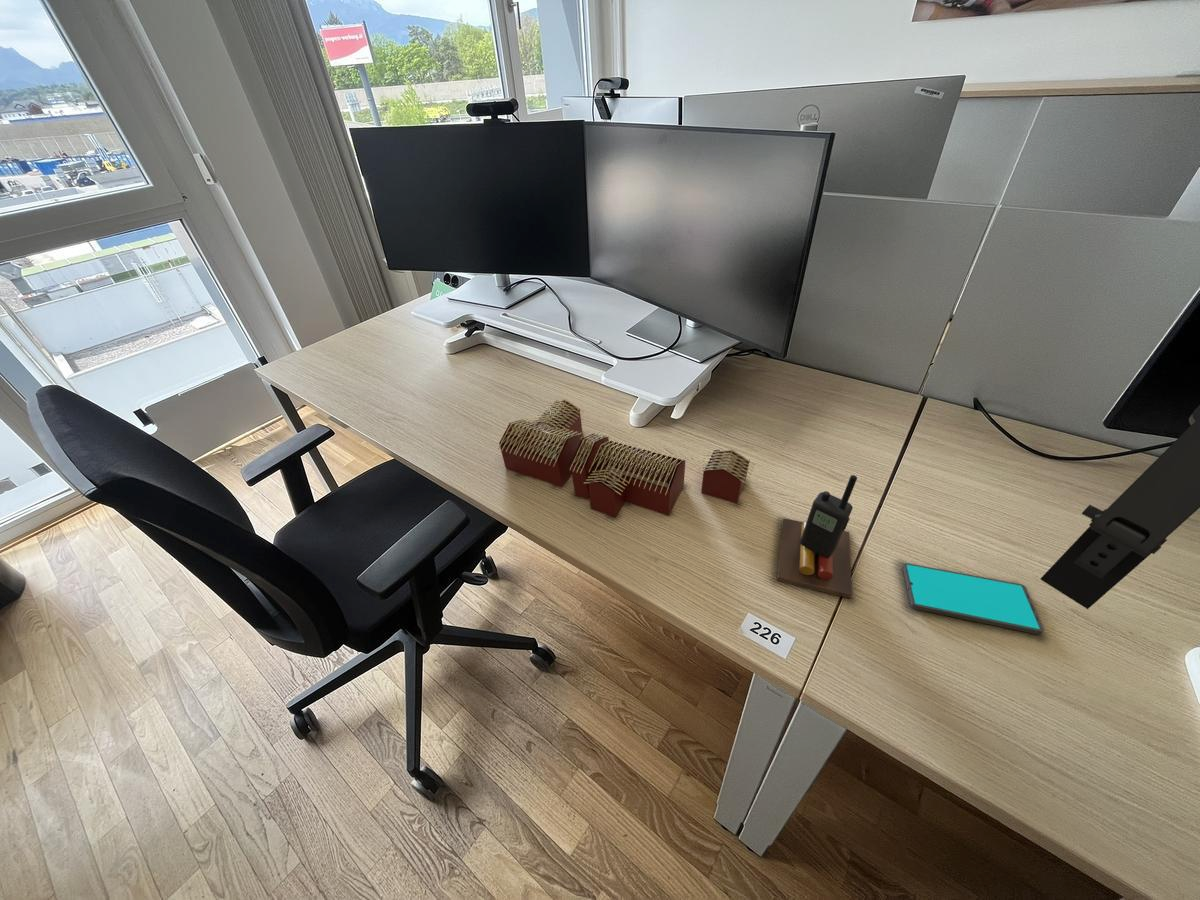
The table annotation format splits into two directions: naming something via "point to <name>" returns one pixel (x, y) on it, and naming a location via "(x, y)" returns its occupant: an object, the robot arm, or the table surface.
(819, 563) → the rod rack
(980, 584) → the smartphone
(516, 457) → the toy houses
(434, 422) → the table surface
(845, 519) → the walkie-talkie
